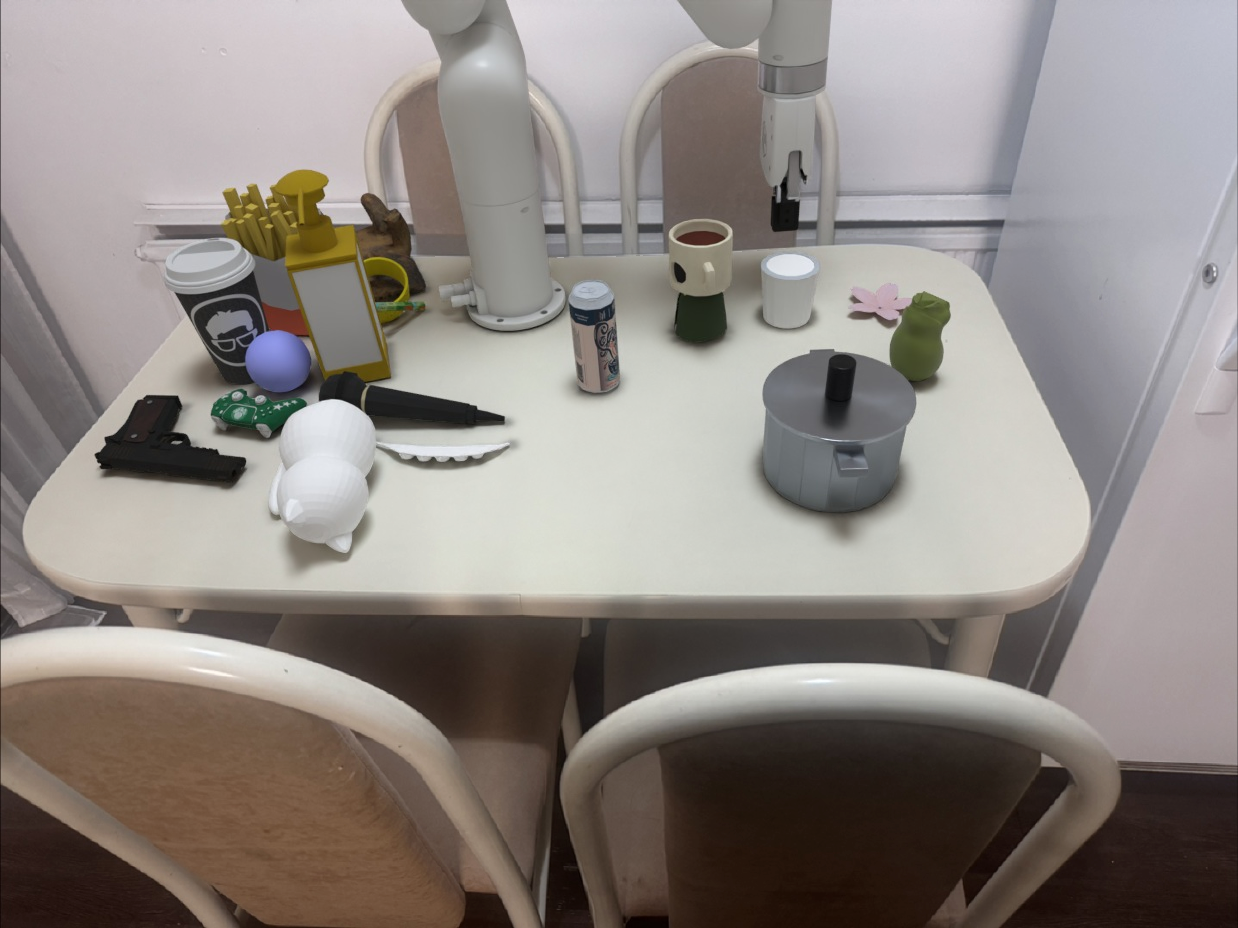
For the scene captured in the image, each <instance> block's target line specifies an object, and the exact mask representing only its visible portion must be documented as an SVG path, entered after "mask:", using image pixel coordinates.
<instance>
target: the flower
mask: <svg viewBox="0 0 1238 928" xmlns="http://www.w3.org/2000/svg"><path fill="white" fill-rule="evenodd" d="M850 291H851V293H852V294H853V296H854V297H855V298H856V299H857V300H858V301H859V302H856V303H853V304H850V305H849V306H848V307H847V309H849V310H851V311H853V312H854V311H855V312H863V313H876V314H877V315H879V316H881V317H882V318H884V319H886V320H888V321H892V320H896V319H898V318H899V316H900V312H899V310H904V309H905V307H906V306H909V305H910V304H911V302H912V298H913V297H901V298H898V297H897V296H898V294H899V286H898V284H897V283H891V282H887V283H884V284H883V285H881V286H880V287H879V288H878V289H877V290H876V293H873V292H872V291H870V290H868V289H866V288H863V287H860V286H855V285H853V286H852V287H850Z"/></svg>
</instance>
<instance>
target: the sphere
mask: <svg viewBox="0 0 1238 928" xmlns="http://www.w3.org/2000/svg"><path fill="white" fill-rule="evenodd" d="M245 364H246V368H247V371H248V373H249V375H250V377H251V378H252V380H253V381H254V382H253V383H255V384H256V385H257V386H259V387H260V388H261V389H264V390H266V391H270V392H272V393H286V392H291V391H293V390H295V389H297V388H298V387H301V385H303V384H304V383H305V382H306V381H307V378H308V376H309V375H310V373H311V370H312V357H311V353H310V350H309V348H308V346H307V344H306V343H305V342H304V341H303V340H302V339H300V337H298V335H294V334H291V333H288V332H285V331H280V330H277V331H273V330H269V331H268V332H265V333H263V334H261V335H259V336H258V337H256V338H255V339H254V340H253V341H252V342H251V344H250V345H249V347H248V349H247V352H246V356H245Z"/></svg>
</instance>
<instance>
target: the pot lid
mask: <svg viewBox="0 0 1238 928" xmlns="http://www.w3.org/2000/svg"><path fill="white" fill-rule="evenodd" d="M761 395H762V403H763V405H764V407H765V411H766V410H767V412H768V413H769V414H770V416H771V417H772V418H773V419H774V420H775V421H776V422H777V423H778V424H779V425H781V426H782V427H783V428H785V429H786V430H788V431H790V432H792V433H794V434H796V435H798V436H800V437H803V438H806V439H808V440H812V441H816V442H820V443H825V444H832V445H863V444H869V443H874V442H878V441H881V440H884V439H887V438H889V437H891V436H893V435H895V434H897V433H898V432H900V431H901V430H903V429H904V428H905V427H906V426H907V427H908V425H909V424H910V423H911V421H912V420H913V417H914V416H915V413H916V408H917V395H916V392H915V389H914V388H913V386H912V384H911V382H910V380H907V379H906V378H905V377H904V376H903V375H902V374H901V373H900V372H898V371H897V370H896V369H894V368H892V366H891V365H889V364H888V363H885V362H883V361H881V360H878V359H876V358H873V357H870V356H866V355H864V354H863V355H862V354H859V353H854V352H847V351H835V352H816V353H810V352H809V353H805V354H801V355H798V356H795V357H791V358H790V359H787V360H785V361H784V362H782V363H780V364H779V365H777V366H776V367H774V368H773V369H772V370H771V371H770V373H768V375H767V376H766V378H765V380H764V383H763V387H762V394H761ZM907 427H906V428H907Z"/></svg>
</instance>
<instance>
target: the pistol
mask: <svg viewBox="0 0 1238 928" xmlns="http://www.w3.org/2000/svg"><path fill="white" fill-rule="evenodd" d="M182 408H183V404H182V401H181V399H180V396H179V395H177V394H176V395H175V394H174V395H173V394H171V395H169V394H146V395H145V396H144V397H143V398H141V399H137V400H135V402H134V404H133V407H132V409H131V410H130V412H129V415H128V417H127V419H126V420H125V422H124V423H123V424H122V426H121V427H120V428H119V429H118V430H117V431H116V432H115V433H114V434H111V435H107V436H104V437H103V438H104V443H105V444H104V446H103V447H102V448H101V449H100V451H98V452H95V453H94V455H93V456H94V457H95V460H96V463H97V464H100V465H99V468H100V470H112V469H114V470H122V471H130V472H131V471H132V472H138V473H146V474H147V473H148V472H149V473H157V474H158V473H159V474H166V475H167V476H173V477H181V478H190V479H196V480H197V479H199V480H206V481H209V480H210V481H216V482H217V481H218V482H222V483H223V482H225V483H232V484H233V483H234V482H235V481H236V479H237V478H238V477H239V476H240V475H241V474H242V469H243V468H245V467H246V465H247V458H246V457H245V456H244V457H243V456H236V455H235V456H234V455H228V454H227V455H226V454H220V452H219V450H218V448H215V449H214V447H213V448H212V447H208V448H207V447H205V446H202V447H200V446H193V445H192V442H191V440H190V436H189V435H188V434H187V433H185V432H177V431H170V430H171V428H172V427H173V425H174V422H175V421H176V418H177V417H178V414H179V413H180V410H181V409H182ZM173 442H180V443H173Z"/></svg>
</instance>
